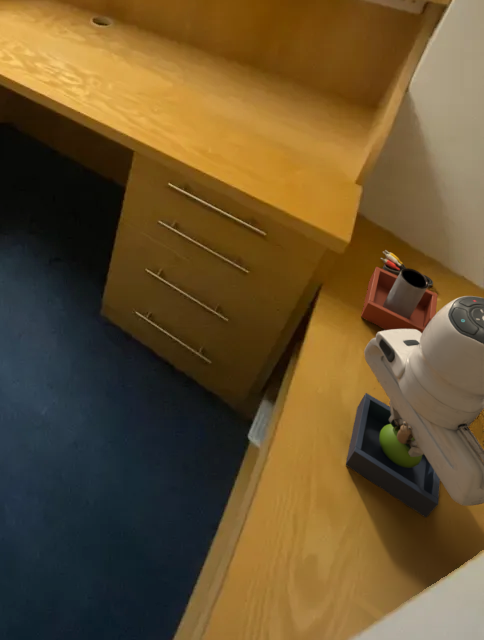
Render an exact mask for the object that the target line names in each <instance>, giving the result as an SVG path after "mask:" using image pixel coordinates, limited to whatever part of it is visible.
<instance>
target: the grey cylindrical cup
mask: <svg viewBox="0 0 484 640" xmlns="http://www.w3.org/2000/svg"><path fill="white" fill-rule="evenodd" d="M424 275H425V274H423V273H421V272H419V271H418V270H416V269H414V268H410V267H406V268H405V269H402V270H401V272H400V274H397V276H398V277H397V279H396V281H395V283H394V285H393V287H392V289H391V290H390V292H389V294H388V296H387V298H386V300H385V302H384V304H383V307H384V308H386V309H388V310H390V311H392V312H394V313H396V314H398V315H400V316H402V317H404V318H406V319H408V320H409V318H410V317H411V315H412V313H413V312H414V310H415V308H416V306H417V305H418V303H419V301H420V300H421V298H422V296H423V295H424V293H425V291H426V289H427V290H428V288H429V287H428V286H429V283H428V280H427V279H426V277H425V276H424Z"/></svg>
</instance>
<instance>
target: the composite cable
mask: <svg viewBox="0 0 484 640" xmlns="http://www.w3.org/2000/svg"><path fill="white" fill-rule="evenodd" d="M382 254H384V256H385V258H383V257H380V260H381V261H382V262H383V267H382V269H383V270H385V271H388V272H390V273H392V274H394V275H399V274H400V272H401V270H402V269H405V268H407V267H406V266H405V264H404V263H403V262H402V261H401V260H400V258H399V257H398V256H397V255H395V254H394V253H393V252H389V251H388V250H387V249H385V250H384V251H382ZM423 275H424V276H425V277H426V279H427V280H428V283H429V286H428V288H429V287H430V288H431V287H432V286H433V285H434V281H433V279H432V278H431V277H429V276H427V275H425V274H423Z"/></svg>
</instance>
